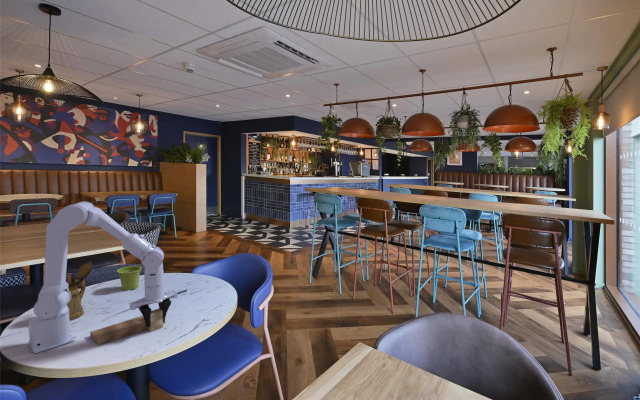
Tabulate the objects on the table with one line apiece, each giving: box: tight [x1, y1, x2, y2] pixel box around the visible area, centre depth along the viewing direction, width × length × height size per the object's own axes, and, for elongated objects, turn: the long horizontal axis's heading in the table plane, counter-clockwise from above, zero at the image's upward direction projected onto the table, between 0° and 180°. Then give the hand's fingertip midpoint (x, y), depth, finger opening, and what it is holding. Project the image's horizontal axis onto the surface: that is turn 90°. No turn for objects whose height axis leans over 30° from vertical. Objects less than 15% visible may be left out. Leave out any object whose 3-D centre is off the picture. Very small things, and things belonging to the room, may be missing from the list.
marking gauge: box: [147, 307, 164, 332], centre depth 109 cm, size 4×8×6 cm, turn 50°
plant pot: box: [116, 265, 143, 291], centre depth 142 cm, size 9×9×9 cm
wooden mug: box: [67, 260, 93, 321], centre depth 116 cm, size 9×14×18 cm, turn 161°
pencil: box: [177, 289, 188, 295], centre depth 135 cm, size 1×1×15 cm
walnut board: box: [89, 315, 166, 346], centre depth 106 cm, size 20×8×2 cm, turn 140°
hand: (155, 323), depth 107 cm, fingers closed on marking gauge, 4 cm apart
